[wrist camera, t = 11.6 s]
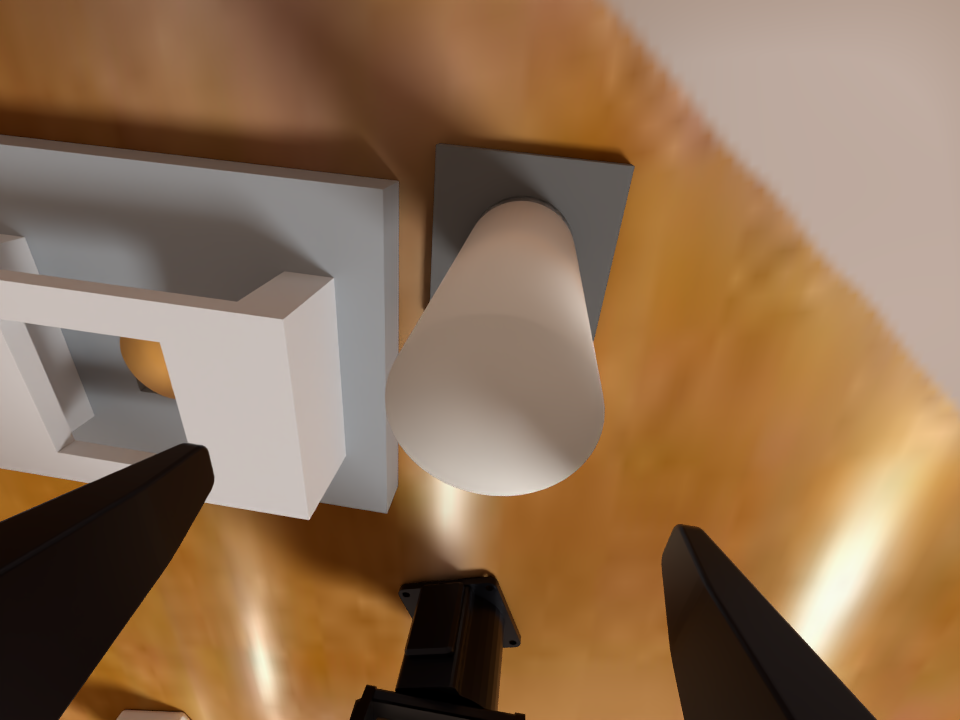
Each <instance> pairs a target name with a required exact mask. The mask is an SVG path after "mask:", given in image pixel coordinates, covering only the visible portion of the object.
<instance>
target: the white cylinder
mask: <svg viewBox="0 0 960 720" xmlns="http://www.w3.org/2000/svg"><path fill="white" fill-rule="evenodd" d="M385 407H386V413H387V417H388V422H389V424H390V427H391V429H392V432H393V434H394V436H395V437H396V439H397V441H398V443H399V444H400V446H401V447H402V448H403V450H404V451H405V452H406V453H407V455H408V456H409V457H410V458H411V459H412V460H413V461H414V462H415V463H416V464H417V465H419V466H420V467H421V468H422V469H423V470H425V471H426V472H428V473H429V474H430V475H432V476H433V477H435V478H437V479H439V480H441V481H442V482H444V483H446V484H449V485H451V486H453V487H456V488H459V489H462V490H465V491H468V492H473V493H477V494H483V495H491V496H513V495H522V494H528V493H533V492H536V491H539V490H543V489H546V488H548V487H550V486H553V485H555V484H557V483H559V482H561V481H562V480H564V479H566V478H567V477H569V476H570V475H571V474H573V473H574V472H575V471H576V470H578V469H579V468H580V467H581V466H582V465H583V464H584V463H585V461H586V460H587V459H588V458H589V456H590V455H591V454H592V452H593V450H594V449H595V447H596V445H597V443H598V441H599V438H600V435H601V433H602V428H603V423H604V409H605V407H604V400H603V393H602V388H601V382H600V377H599V372H598V366H597V361H596V356H595V350H594V345H593V340H592V335H591V329H590V324H589V319H588V313H587V308H586V303H585V298H584V292H583V287H582V282H581V276H580V271H579V266H578V260H577V255H576V250H575V245H574V239H573V235H572V231H571V228H570V226H569V224H568V222H567V220H566V219H565V217H564V216H563V215H562V214H561V212H560V211H559V210H558V209H556V208H555V207H554V206H553V205H551V204H550V203H548V202H546V201H544V200H542V199H539V198H536V197H531V196H514V197H510V198H506V199H503V200H501V201H499V202H497V203H495V204H494V205H492V206H491V207H489V208H488V209H487V210H486V211H485V212H484V213H483V214H482V216H481V217H480V218H479V220H478V221H477V223H476V225H475V226H474V228H473V230H472V231H471V233H470V235H469V236H468V238H467V240H466V242H465V243H464V245H463V247H462V248H461V250H460V252H459V253H458V255H457V257H456V258H455V260H454V262H453V263H452V265H451V267H450V268H449V270H448V272H447V274H446V275H445V277H444V279H443V280H442V282H441V284H440V285H439V287H438V289H437V290H436V292H435V294H434V295H433V297H432V299H431V300H430V302H429V304H428V306H427V307H426V309H425V311H424V312H423V314H422V316H421V317H420V319H419V321H418V322H417V324H416V326H415V327H414V329H413V331H412V332H411V334H410V336H409V338H408V339H407V341H406V343H405V344H404V346H403V348H402V349H401V351H400V353H399V354H398V356H397V358H396V359H395V361H394V363H393V365H392V367H391V370H390V372H389V375H388V379H387V383H386V388H385Z"/></svg>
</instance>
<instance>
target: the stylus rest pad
mask: <svg viewBox="0 0 960 720" xmlns="http://www.w3.org/2000/svg"><path fill="white" fill-rule="evenodd" d="M634 167H635V166H633V165H632V164H624V163H614V162H605V161H596V160H587V159H578V158H569V157H560V156H551V155H542V154H533V153H523V152H514V151H505V150H496V149H487V148H478V147H469V146H460V145H451V144H442V143H439V144H436V159H435V185H434V211H433V236H432V262H431V288H430V300H431V299H432V297H433V295H434V294H435V292H436V290H437V289H438V287H439V285H440V284H441V282H442V280H443V279H444V277H445V275H446V274H447V272H448V270H449V268H450V267H451V265H452V263H453V262H454V260H455V258H456V257H457V255H458V253H459V252H460V250H461V248H462V247H463V245H464V243H465V242H466V240H467V238H468V236H469V235H470V233H471V231H472V230H473V228H474V226H475V225H476V223H477V221H478V220H479V218H480V217H481V216H482V214H483V213H484V212H485V211H486V210H487V209H488V208H489V207H491V206H492V205H494V204H495V203H497V202H499V201H501V200H503V199H506V198H510V197H514V196H531V197H536V198H539V199H542V200H544V201H546V202H548V203H550V204H551V205H553V206H554V207H555V208H556V209H558V210H559V211H560V212H561V214H562V215H563V216H564V217H565V219H566V220H567V222H568V224H569V226H570V228H571V231H572V235H573V239H574V245H575V250H576V255H577V260H578V266H579V271H580V276H581V282H582V287H583V292H584V298H585V303H586V308H587V313H588V319H589V324H590V329H591V335H592V340H593V341H594V337H595V333H596V329H597V324H598V320H599V316H600V312H601V307H602V303H603V299H604V294H605V290H606V286H607V282H608V277H609V273H610V269H611V265H612V260H613V256H614V252H615V248H616V243H617V239H618V235H619V230H620V226H621V222H622V218H623V213H624V209H625V205H626V201H627V196H628V192H629V188H630V184H631V179H632V175H633V171H634Z"/></svg>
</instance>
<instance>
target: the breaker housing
mask: <svg viewBox="0 0 960 720" xmlns="http://www.w3.org/2000/svg"><path fill="white" fill-rule="evenodd" d="M398 321H399V181H396V180H387V179H378V178H370V177H361V176H353V175H344V174H335V173H327V172H318V171H310V170H301V169H292V168H284V167H275V166H266V165H258V164H249V163H241V162H232V161H223V160H215V159H206V158H198V157H189V156H180V155H172V154H163V153H155V152H146V151H137V150H129V149H120V148H111V147H103V146H94V145H86V144H77V143H68V142H60V141H51V140H43V139H34V138H25V137H17V136H8V135H0V468H3V469H9V470H15V471H21V472H27V473H33V474H39V475H44V476H50V477H56V478H62V479H68V480H74V481H80V482H86V483H91V482H93V481H95V480H98V479H100V478H102V477H105V476H107V475H109V474H112V473H114V472H116V471H119V470H121V469H123V468H125V467H128V466H130V465H132V464H135V463H137V462H139V461H142V460H144V459H146V458H148V457H151V456H153V455H155V454H158V453H160V452H162V451H165V450H167V449H169V448H171V447H174V446H176V445H178V444H181V443H193V444H199V445H203V446H205V447H206V448H207V449H208V451H209V455H210V459H211V463H212V467H213V472H214V477H215V479H214V485H213V488H212V490H211V492H210V494H209V495H208V497H207V499H206V501H205V503H211V504H217V505H223V506H229V507H234V508H240V509H246V510H252V511H258V512H264V513H270V514H276V515H282V516H288V517H294V518H300V519H306V520H310V518H311V516H312V514H313V513H314V511H315V509H316V507H317V506H318V504H319V502H320V503H326V504H332V505H338V506H345V507H351V508H357V509H363V510H369V511H375V512H381V513H388V510H389V508H390V505H391V502H392V500H393V497H394V495H395V492H396V490H397V487H398V441H397V439H396V437H395V436H394V434H393V432H392V429H391V427H390V424H389V422H388V417H387V413H386V407H385V388H386V383H387V379H388V375H389V372H390V370H391V367H392V365H393V363H394V361H395V359H396V358H397V356H398ZM120 337H127V338H134V339H141V340H147V341H154V342H160V345H161V348H162V352H163V355H164V359H165V363H166V366H167V370H168V373H169V377H170V380H171V384H172V388H173V391H174V395H175V398H176V399H172V398H168V397H165V396H162V395H160V394H158V393H156V392H154V391H152V390H151V389H149V388H148V387H146V386H145V385H144V384H143V383H141V382H140V381H139V380H138V379H137V378H136V377H135V376H134V375H133V373H132V372H131V371H130V370H129V368H128V367H127V365H126V363H125V361H124V359H123V357H122V354H121V350H120Z"/></svg>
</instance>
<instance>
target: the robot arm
mask: <svg viewBox="0 0 960 720" xmlns="http://www.w3.org/2000/svg"><path fill="white" fill-rule="evenodd" d="M214 479H215V477H214V472H213V467H212V463H211V459H210V455H209V451H208V449H207V448H206V447H205V446H203V445H199V444H193V443H181V444H178V445H176V446H174V447H171V448H169V449H167V450H165V451H162V452H160V453H158V454H155V455H153V456H151V457H148V458H146V459H144V460H142V461H139V462H137V463H135V464H132V465H130V466H128V467H125V468H123V469H121V470H119V471H116V472H114V473H112V474H109V475H107V476H105V477H102V478H100V479H98V480H95V481H93V482H91V483H89V484H86V485H84V486H82V487H79V488H77V489H75V490H72V491H70V492H68V493H66V494H63V495H61V496H59V497H56V498H54V499H52V500H49V501H47V502H45V503H42V504H40V505H38V506H36V507H33V508H31V509H29V510H26V511H24V512H22V513H19V514H17V515H15V516H12V517H10V518H8V519H6V520H3V521H1V522H0V720H59V719H60V717H61V716H62V714H63V713H64V711H65V710H66V709H67V707H68V706H69V704H70V703H71V702H72V700H73V699H74V697H75V696H76V694H77V693H78V692H79V690H80V689H81V687H82V686H83V685H84V683H85V682H86V680H87V679H88V677H89V676H90V675H91V673H92V672H93V670H94V669H95V668H96V666H97V665H98V663H99V662H100V660H101V659H102V658H103V656H104V655H105V653H106V652H107V651H108V649H109V648H110V646H111V645H112V644H113V642H114V641H115V639H116V638H117V636H118V635H119V634H120V632H121V631H122V629H123V628H124V627H125V625H126V624H127V622H128V621H129V619H130V618H131V617H132V615H133V614H134V612H135V611H136V610H137V608H138V607H139V605H140V604H141V602H142V601H143V600H144V598H145V597H146V595H147V594H148V593H149V591H150V590H151V588H152V587H153V585H154V584H155V583H156V581H157V580H158V578H159V577H160V576H161V574H162V573H163V571H164V570H165V568H166V567H167V565H168V564H169V562H170V561H171V559H172V558H173V556H174V554H175V553H176V551H177V549H178V548H179V546H180V544H181V543H182V541H183V539H184V537H185V536H186V534H187V532H188V530H189V529H190V527H191V525H192V523H193V522H194V520H195V518H196V516H197V515H198V513H199V511H200V509H201V508H202V506H203V504H204V502H205V501H206V499H207V497H208V495H209V494H210V492H211V490H212V488H213V485H214ZM662 575H663V585H664V595H665V605H666V615H667V625H668V635H669V644H670V652H671V657H672V663H673V668H674V673H675V677H676V682H677V687H678V692H679V697H680V701H681V706H682V711H683V716H684V720H877V719H876V718H875V717H874V716H873V715H872V714H871V713H870V712H869V711H868V709H867V708H866V707H865V706H864V705H863V704H862V703H861V702H860V701H859V700H858V699H857V698H856V696H855V695H854V694H853V693H852V692H851V691H850V690H849V689H848V688H847V687H846V686H845V684H844V683H843V682H842V681H841V680H840V679H839V678H838V677H837V676H836V675H835V674H834V672H833V671H832V670H831V669H830V668H829V667H828V666H827V665H826V664H825V663H824V662H823V660H822V659H821V658H820V657H819V656H818V655H817V654H816V653H815V652H814V651H813V650H812V648H811V647H810V646H809V645H808V644H807V643H806V642H805V641H804V640H803V639H802V638H801V636H800V635H799V634H798V633H797V632H796V631H795V630H794V629H793V628H792V627H791V626H790V624H789V623H788V622H787V621H786V620H785V619H784V618H783V617H782V616H781V615H780V614H779V612H778V611H777V610H776V609H775V608H774V607H773V606H772V605H771V604H770V603H769V602H768V600H767V599H766V598H765V597H764V596H763V595H762V594H761V593H760V592H759V591H758V590H757V588H756V587H755V586H754V585H753V584H752V583H751V582H750V581H749V580H748V579H747V578H746V576H745V575H744V574H743V573H742V572H741V571H740V570H739V569H738V568H737V567H736V566H735V564H734V563H733V562H732V561H731V560H730V559H729V558H728V557H727V556H726V555H725V554H724V552H723V551H722V550H721V549H720V548H719V547H718V546H717V545H716V544H715V543H714V542H713V540H712V539H711V538H710V537H709V536H708V535H707V534H706V533H705V532H704V531H703V530H702V529H701V528H699V527H695V526H689V525H683V524H678V525H676V526H675V527H674V529H673V531H672V533H671V535H670V538H669V540H668V542H667V545H666V547H665V549H664V552H663V555H662ZM398 594H399V596H400V598H401V600H402V602H403V603H404V605H405V607H406V609H407V610H408V612H409V614H410V616H411V617H412V619H413V620H412V624H411V628H410V632H409V635H408V639H407V643H406V647H405V654H404V658H403V662H402V666H401V669H400V673H399V677H398V681H397V685H396V689H395V691H396V692H393V691H387V690H382V689H377V687H376V686H372V685H366V687H365V690H364V693H363V695H362V698H361V699H358V700H356V701H355V705H354V708H353V711H352V714H351V717H350V720H525V714H521V713H516V712H515V714H510V713H505V712H499V711H497V710H498V698H499V686H500V674H501V662H502V650H503V648H507V647H518V646H519V645H520V642H521V636H520V634H519V631H518V629H517V626H516V624H515V622H514V619H513V617H512V614H511V612H510V610H509V607H508V605H507V602H506V600H505V598H504V595H503V593H502V591H501V588H500V586H499V583H498V581H497V580H496V579H495V578H492V577H482V578H470V579H458V580H446V581H435V582H423V583H411V584H403V585H401V587H400V590H399V593H398Z"/></svg>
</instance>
